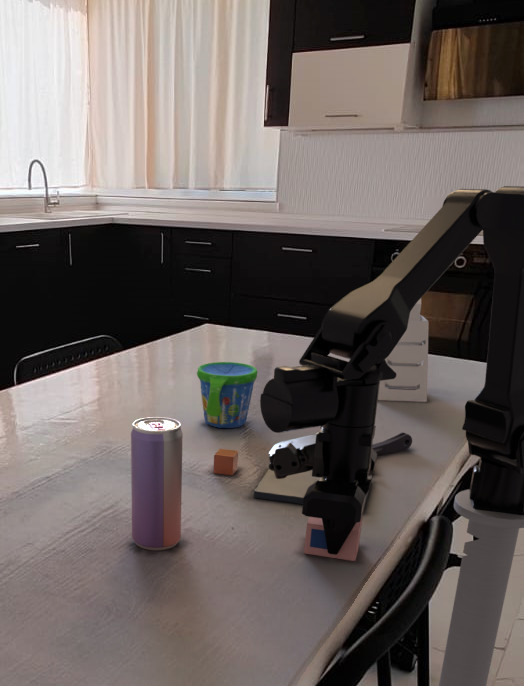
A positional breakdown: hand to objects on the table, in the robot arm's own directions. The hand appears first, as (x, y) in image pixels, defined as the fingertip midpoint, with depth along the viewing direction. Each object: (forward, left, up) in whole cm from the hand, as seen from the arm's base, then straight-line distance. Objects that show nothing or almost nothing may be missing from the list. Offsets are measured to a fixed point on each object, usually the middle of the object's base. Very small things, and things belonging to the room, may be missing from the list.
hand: (335, 545), depth 92 cm
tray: (+5, -19, -1) cm, 20 cm away
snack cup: (+26, -46, -1) cm, 53 cm away
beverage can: (+21, +5, -1) cm, 22 cm away
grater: (-2, -79, -1) cm, 79 cm away
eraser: (0, 0, -1) cm, 1 cm away
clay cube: (+19, -22, -1) cm, 29 cm away
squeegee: (-1, -38, -1) cm, 38 cm away
